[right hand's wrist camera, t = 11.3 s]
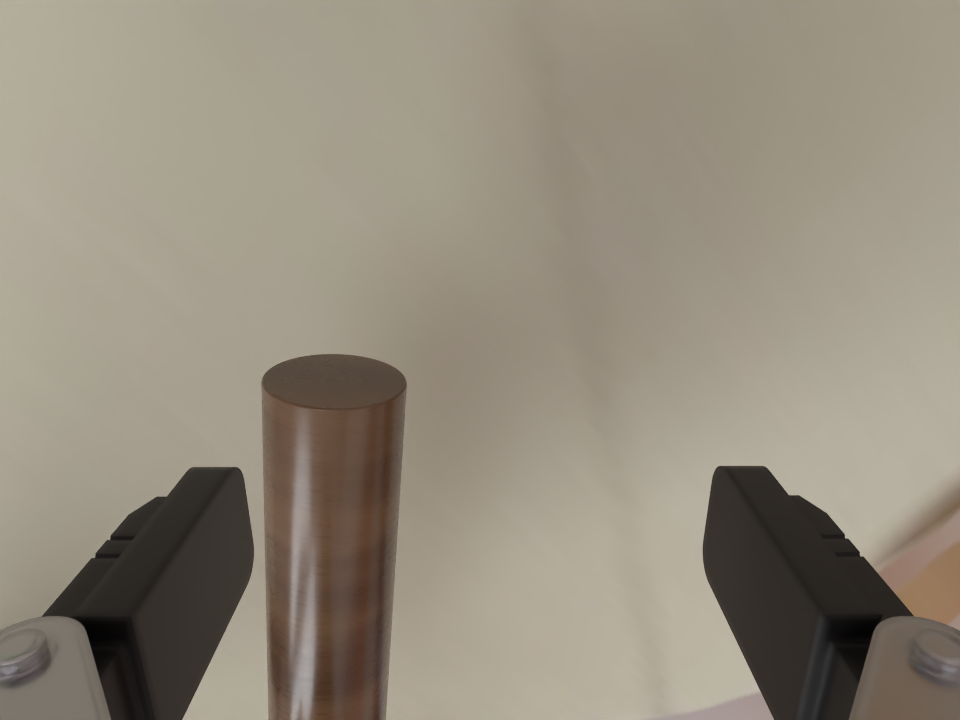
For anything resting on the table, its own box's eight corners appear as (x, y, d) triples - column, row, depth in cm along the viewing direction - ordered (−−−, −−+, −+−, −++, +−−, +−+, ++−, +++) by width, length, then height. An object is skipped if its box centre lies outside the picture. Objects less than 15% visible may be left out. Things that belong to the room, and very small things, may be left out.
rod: (282, 348, 28) (241, 402, 23) (411, 359, 28) (400, 414, 23) (286, 807, 38) (258, 916, 33) (382, 811, 38) (369, 920, 33)
